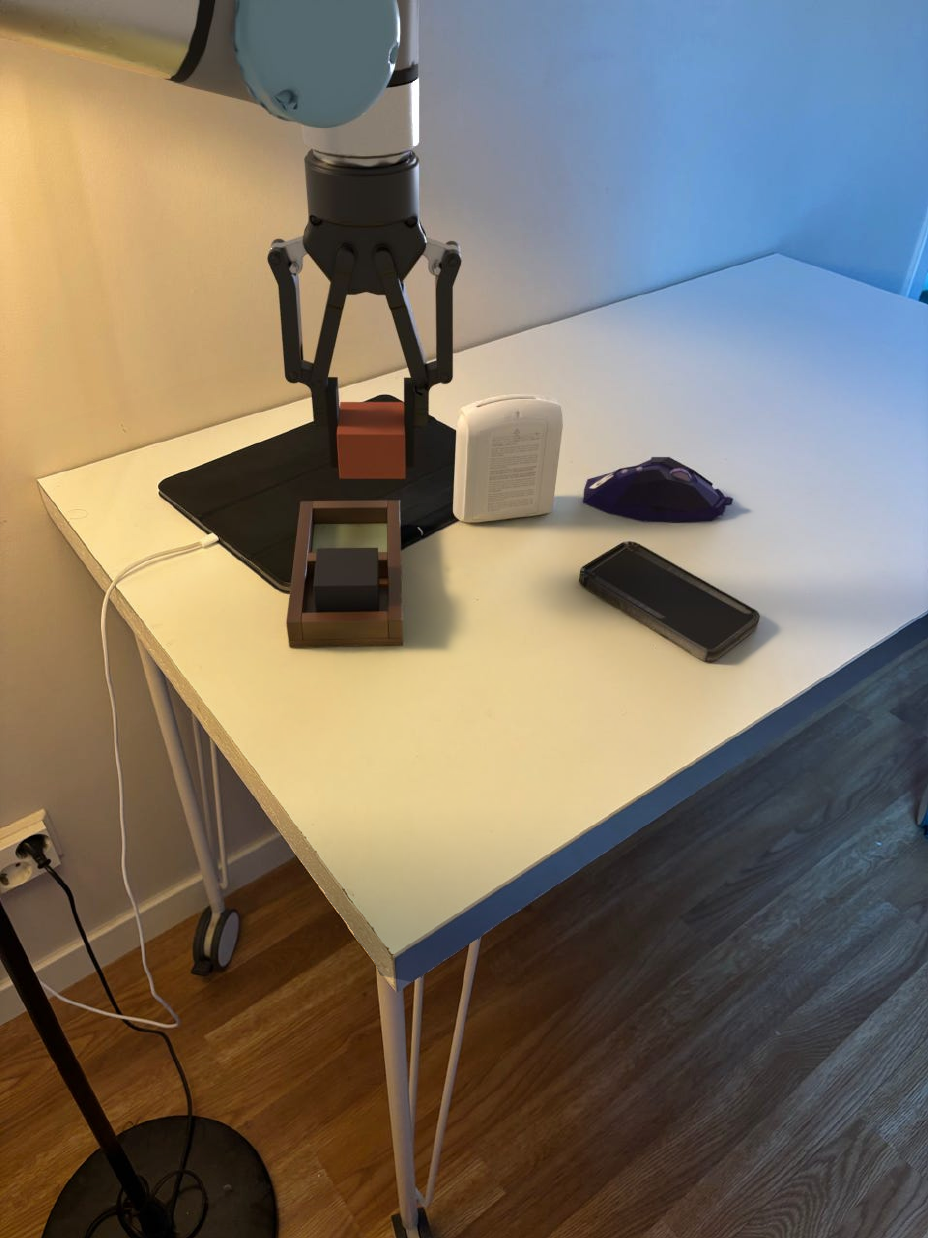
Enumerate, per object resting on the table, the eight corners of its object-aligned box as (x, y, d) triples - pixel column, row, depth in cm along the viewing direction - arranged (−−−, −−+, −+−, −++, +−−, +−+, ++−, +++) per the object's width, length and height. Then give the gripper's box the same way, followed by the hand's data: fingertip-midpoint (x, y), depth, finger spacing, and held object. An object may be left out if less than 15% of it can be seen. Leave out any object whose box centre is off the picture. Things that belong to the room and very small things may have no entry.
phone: (629, 538, 90) (765, 614, 82) (627, 547, 91) (762, 624, 83) (573, 571, 86) (711, 656, 78) (572, 581, 86) (708, 666, 78)
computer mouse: (589, 464, 102) (593, 431, 100) (729, 483, 100) (738, 450, 98) (579, 512, 95) (584, 478, 93) (730, 533, 93) (739, 499, 91)
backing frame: (289, 647, 79) (286, 622, 77) (302, 525, 92) (300, 500, 90) (403, 645, 79) (402, 620, 78) (400, 524, 93) (399, 499, 91)
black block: (316, 623, 80) (313, 586, 77) (319, 584, 84) (316, 547, 81) (378, 622, 80) (377, 585, 78) (379, 583, 84) (377, 547, 82)
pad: (339, 478, 75) (336, 434, 73) (342, 445, 79) (340, 401, 77) (405, 478, 76) (404, 434, 73) (405, 445, 80) (404, 401, 77)
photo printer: (544, 492, 98) (556, 381, 90) (559, 515, 95) (572, 402, 87) (447, 504, 95) (450, 392, 87) (459, 528, 92) (463, 414, 84)
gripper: (496, 136, 65) (482, 435, 81) (228, 131, 64) (265, 435, 80) (505, 168, 60) (488, 483, 75) (211, 163, 59) (254, 484, 74)
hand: (373, 458), depth 77 cm, fingers closed on pad, 5 cm apart
